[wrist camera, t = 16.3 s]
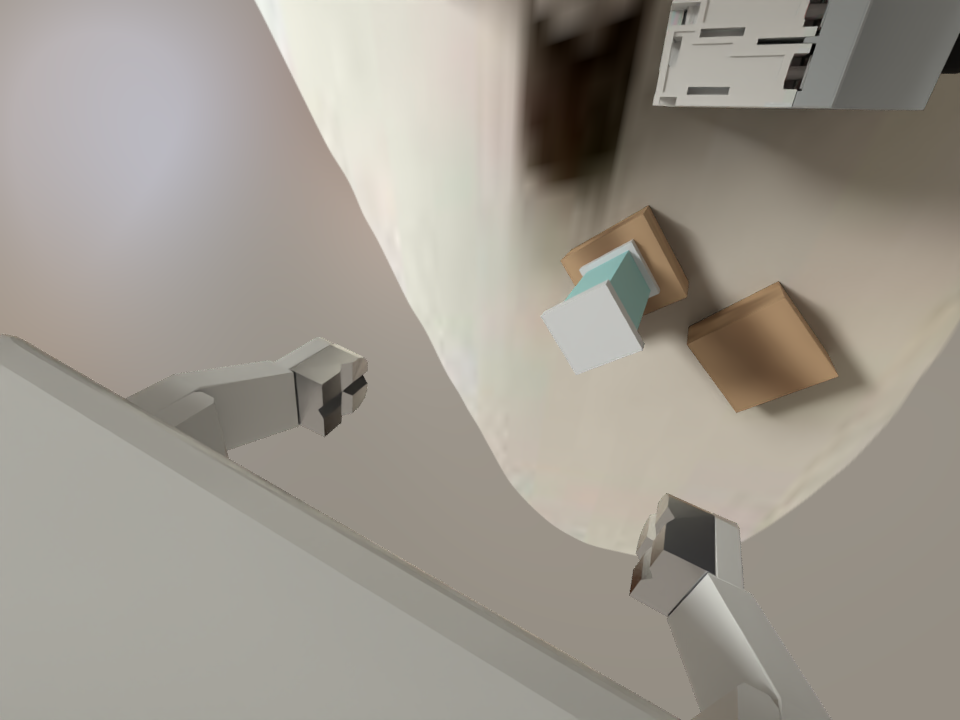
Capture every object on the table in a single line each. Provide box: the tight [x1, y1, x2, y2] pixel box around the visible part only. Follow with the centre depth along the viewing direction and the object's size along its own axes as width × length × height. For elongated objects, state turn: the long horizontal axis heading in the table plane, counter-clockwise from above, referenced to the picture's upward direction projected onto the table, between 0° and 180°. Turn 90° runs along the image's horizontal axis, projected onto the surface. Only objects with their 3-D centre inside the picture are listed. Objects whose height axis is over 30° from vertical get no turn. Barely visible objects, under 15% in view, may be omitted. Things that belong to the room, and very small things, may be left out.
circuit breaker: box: [653, 0, 960, 110], centre depth 24 cm, size 8×14×15 cm, turn 88°
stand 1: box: [561, 205, 689, 316], centre depth 40 cm, size 8×8×4 cm
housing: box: [541, 239, 660, 375], centre depth 34 cm, size 5×5×12 cm
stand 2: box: [687, 281, 838, 413], centre depth 38 cm, size 8×8×4 cm
